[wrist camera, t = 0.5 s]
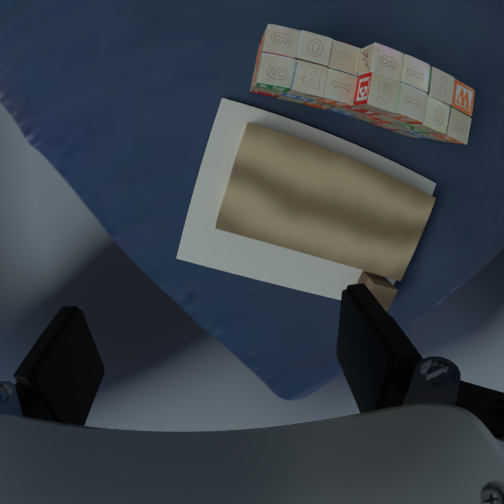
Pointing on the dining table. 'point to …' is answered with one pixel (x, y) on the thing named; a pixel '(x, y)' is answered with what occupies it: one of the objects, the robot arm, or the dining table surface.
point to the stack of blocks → (363, 84)
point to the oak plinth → (322, 204)
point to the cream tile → (254, 251)
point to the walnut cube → (379, 288)
